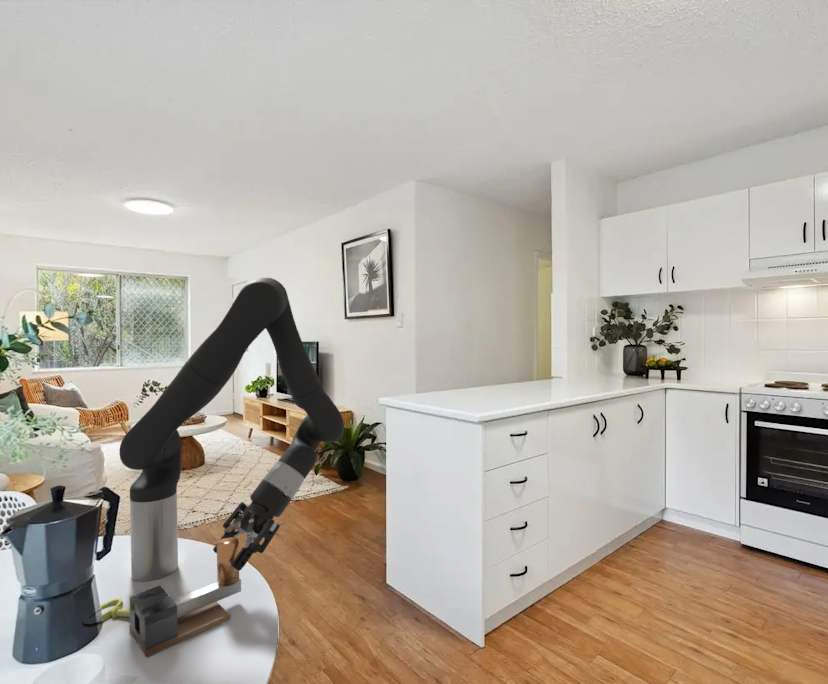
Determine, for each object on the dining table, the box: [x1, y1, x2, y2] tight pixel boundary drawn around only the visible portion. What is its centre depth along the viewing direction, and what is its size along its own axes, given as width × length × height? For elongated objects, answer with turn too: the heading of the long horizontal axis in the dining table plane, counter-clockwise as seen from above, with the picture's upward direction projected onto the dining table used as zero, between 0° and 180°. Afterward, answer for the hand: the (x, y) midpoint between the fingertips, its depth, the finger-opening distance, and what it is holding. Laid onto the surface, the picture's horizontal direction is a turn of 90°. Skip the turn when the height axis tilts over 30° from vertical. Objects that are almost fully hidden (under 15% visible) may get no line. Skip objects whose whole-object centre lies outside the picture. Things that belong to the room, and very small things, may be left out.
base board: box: [128, 601, 231, 659], centre depth 85 cm, size 10×14×1 cm
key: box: [100, 598, 130, 622], centre depth 89 cm, size 7×12×2 cm, turn 95°
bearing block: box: [129, 585, 177, 650], centre depth 82 cm, size 9×5×6 cm, turn 45°
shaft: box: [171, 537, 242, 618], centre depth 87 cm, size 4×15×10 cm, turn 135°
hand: (225, 560), depth 91 cm, fingers open, 8 cm apart
